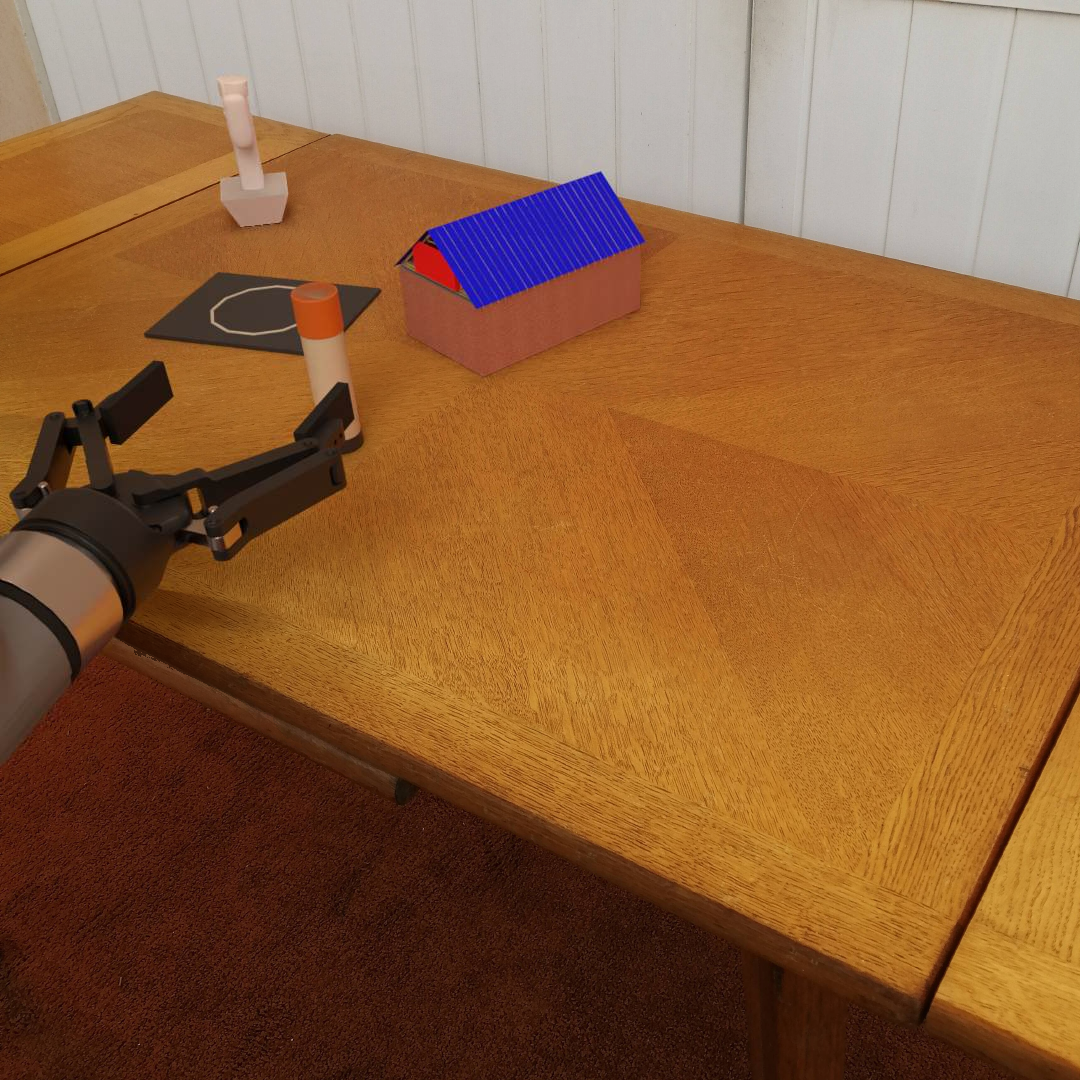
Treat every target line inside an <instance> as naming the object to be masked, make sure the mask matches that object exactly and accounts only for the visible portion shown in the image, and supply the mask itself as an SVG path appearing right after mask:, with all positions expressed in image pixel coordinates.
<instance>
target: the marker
mask: <svg viewBox="0 0 1080 1080" xmlns="http://www.w3.org/2000/svg"><path fill="white" fill-rule="evenodd" d="M330 283H331V282H324V281H313V282H312V283H307V284H303V285H300V286H298V287H296V288H295V289H293V290H292V292H291V300H292V305H293V310H294V315H295V320H296V325H297V329H298V333H299V334H300V337H301V342H302V347H303V352H304V355H303V357H304V362H305V366H306V371H307V376H308V380H309V386H310V391H311V395H312V400H313V405H314V408H315V407H316V406H317V405H318V404H319V403H320V401H321V400H322V399H323V398H324V397H325V396H326V395H327V393H328V392H329V391H330V390H331V389H332V388H333V387H334V385H335V384H336V383H337V382H344V383H348V385H349V390H350V396H351V401H352V407H353V412H354V418H355V419H354V420H353V422H352V423H351V424H350V425H349V426H348V428H347V429H346V430H345V431H344V433H345V443H344V444H343V445H342V447H341V448H340V449H341V455H343V454H350V453H353V452H354V451H356V450H359V448H361V447H362V445H363V444H364V436H363V435H364V434H363V430H362V426H361V421H360V416H359V411H358V410H359V409H358V404H357V399H356V394H355V393H356V392H355V388H354V383H353V377H352V371H351V366H350V360H349V355H348V349H347V342H346V337H345V331H343V329H344V323H343V318H342V312H341V306H340V301H339V295H338V289H337V288H336V286H334V285H333V284H334V283H333V284H330Z"/></svg>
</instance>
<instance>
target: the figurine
mask: <svg viewBox="0 0 1080 1080" xmlns="http://www.w3.org/2000/svg"><path fill="white" fill-rule="evenodd" d="M216 82H217V87H218V92H219V96H220V99H221V105H222V110H223V116H224V118H225V121H226V126H227V130H228V136H229V138H230V141H231V143H232V148H233V153H234V157H235V161H236V168H237V170H238V176H229V177H228V176H227V177H220V178H219V182H220V183H219V184H220V185H219V186H220V187H219V189H220V202H221V204H222V205H223V206H224V207H225V209H226V210H227V211H228V212H229V214H230V215H231V216H232V218H233V219H234V220H235V222H236V223H237V224H238V226H240V228H241V227H243V228H245V227H244V226H252V227H256V226H255V225H261V226H264V225H263V224H270V225H272V224H271V223H279V222H281V223H282V221H283V218H284V214H285V210H286V205H287V203H288V202H287V201H288V197H289V189H288V181H287V173H286V171H280V172H279V171H277V172H271V173H264V171H263V166H262V161H261V157H260V156H261V155H260V151H259V147H258V140H257V136H256V130H255V125H254V119H253V115H252V112H251V108H250V107H251V106H250V103H249V98H248V97H249V88H248V79H247V78H246V77H244V76H240V75H228V76H219V77H217V79H216Z"/></svg>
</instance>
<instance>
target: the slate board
mask: <svg viewBox="0 0 1080 1080" xmlns="http://www.w3.org/2000/svg"><path fill="white" fill-rule="evenodd" d="M312 282H314V281H311V280H301V279H292V278H282V277H272V276H263V275H253V274H242V273H232V272H222V271H217V272H216V273H215V274H213V275H212V276H211V277H210V278H209V279H208V280H206V281H205V282H204V283H203V284H201V285H200V286H199V287H198V288H197V289H195V290H194V291H193V292H191V294H189V295H188V296H186V298H185V299H184V300H182V301H181V302H180V303H178V304H177V305H176V306H175V307H174V308H172V309H171V310H170V311H168V312H167V313H166V314H165V315H163V317H162V318H160V319H159V320H158V321H157V322H155V323H154V324H153V325H152V326H150V327H149V328H148V329H147V330H145V332H143V335H144V337H145V338H150V339H152V338H153V339H158V340H159V339H160V340H169V341H175V342H176V341H177V342H178V341H179V342H185V343H186V342H187V343H195V344H202V345H203V344H204V345H212V346H220V347H231V348H237V349H247V350H255V351H262V352H263V351H264V352H273V353H280V354H291V355H297V356H298V355H300V356H304V352H303V347H302V342H301V337H300V334H299V333H298V329H297V325H296V320H295V315H294V310H293V305H292V300H291V292H292V290H293V289H295V288H296V287H298V286H300V285H303V284H307V283H312ZM329 283H330V284H333V285H334V286H336V288H337V289H338V295H339V301H340V306H341V312H342V318H343V323H344V329H343V331H344V332H346V331H347V329H348V328H349V327H351V325H352V324H353V323H354V322H355V321H356V320H357V318H358V317H359V316H360V315H361V314H363V312H364V311H365V310H366V309H367V308H368V307H369V306H370V305H371V304H372V302H373V301H374V300H375V299H376V298H377V297H378V296H379V295H380V294H381V292H382V290H381V288H380V287H370V286H361V285H352V284H341V283H331V282H329Z"/></svg>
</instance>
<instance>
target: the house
mask: <svg viewBox="0 0 1080 1080" xmlns="http://www.w3.org/2000/svg"><path fill="white" fill-rule="evenodd" d="M644 243H646V240H645V239H644V237H643V235H642V234H641V232H640V231H639V229H638V227H637V226H636V224H635V222H634V221H633V219H632V218H631V216H630V215H629V213H628V211H627V210H626V208H625V207H624V205H623V204H622V202H621V201H620V199H619V197H618V196H617V194H616V193H615V191H614V189H613V187H612V186H611V184H610V183H609V182H608V180H607V178H606V177H605V175H604V173H603V172H602V171H601V170H600V171H597V172H594V173H591V174H588V175H585V176H583V177H579V178H577V179H574V180H570V181H568V182H565V183H561V184H559V185H556V186H554V187H550V188H547V189H544V190H541V191H538V192H535V193H532V194H530V195H527V196H524V197H521V198H518V199H515V200H511V201H509V202H505V203H503V204H500V205H497V206H494V207H492V208H488V209H485V210H483V211H480V212H476V213H474V214H471V215H468V216H465V217H462V218H459V219H456V220H453V221H451V222H447V223H444V224H442V225H439V226H435V227H433V228H430V229H427V230H426V231H425V232H424V233H423V234H422V235H421V236H420V237H418V239H417V241H415V242H414V244H413V245H412V246H411V247H410V248H409V249H408V250H407V251H406V252H405V253H404V255H403V256H402V257H401V258H399V260H398V261H397V262H395V264H394V265H393V267H396V266H398V265H399V266H398V271H399V278H400V279H399V280H400V286H401V294H402V302H403V310H404V317H405V323H406V331H407V335H408V336H410V337H412V338H413V339H415V340H417V341H419V342H420V343H422V344H423V345H425V346H427V347H429V348H431V349H433V350H435V351H436V352H438V353H440V354H442V355H443V356H445V357H447V358H448V359H450V360H452V361H454V362H456V363H457V364H459V365H461V366H463V367H464V368H466V369H467V370H469V371H471V372H473V373H475V374H476V375H479V376H480V377H482V378H484V377H487V376H489V375H491V374H494V373H496V372H498V371H500V370H503V369H505V368H507V367H510V366H512V365H514V364H516V363H519V362H521V361H523V360H526V359H528V358H530V357H533V356H535V355H537V354H539V353H541V352H542V353H543V352H544V351H547V350H548V349H551V348H553V347H555V346H557V345H560V344H562V343H565V342H567V341H569V340H571V339H574V338H576V337H578V336H580V335H582V334H585V333H587V332H589V331H592V330H595V329H596V328H599V327H601V326H603V325H605V324H608V323H611V322H613V321H615V320H617V319H619V318H622V317H624V316H626V315H628V314H630V313H634V312H635V311H637V310H640V309H641V248H642V247H641V246H642V245H641V244H644Z"/></svg>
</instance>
